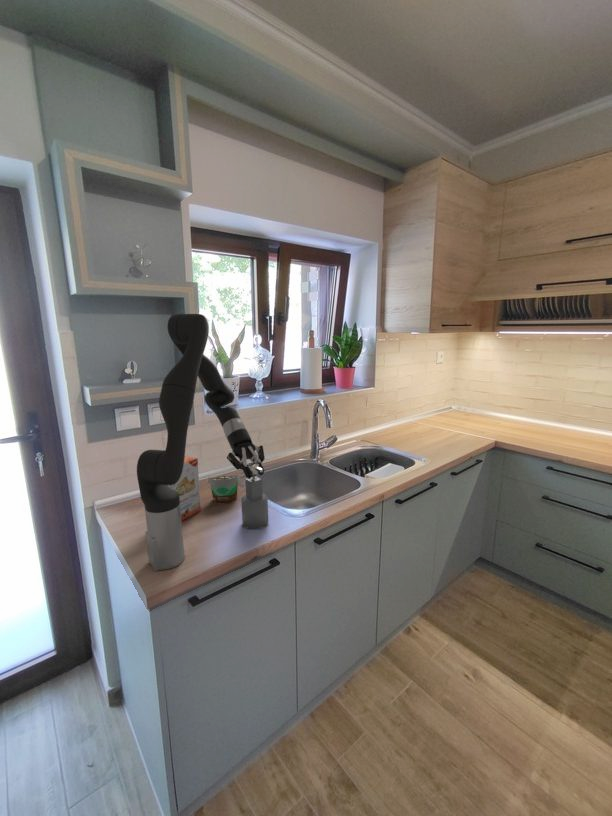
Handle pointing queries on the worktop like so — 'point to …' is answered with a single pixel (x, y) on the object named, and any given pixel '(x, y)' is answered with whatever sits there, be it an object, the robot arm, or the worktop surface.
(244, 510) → the soap bottle
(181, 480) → the cracker box
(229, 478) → the food container
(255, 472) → the pump head
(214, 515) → the worktop surface
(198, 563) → the worktop surface
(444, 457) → the worktop surface
